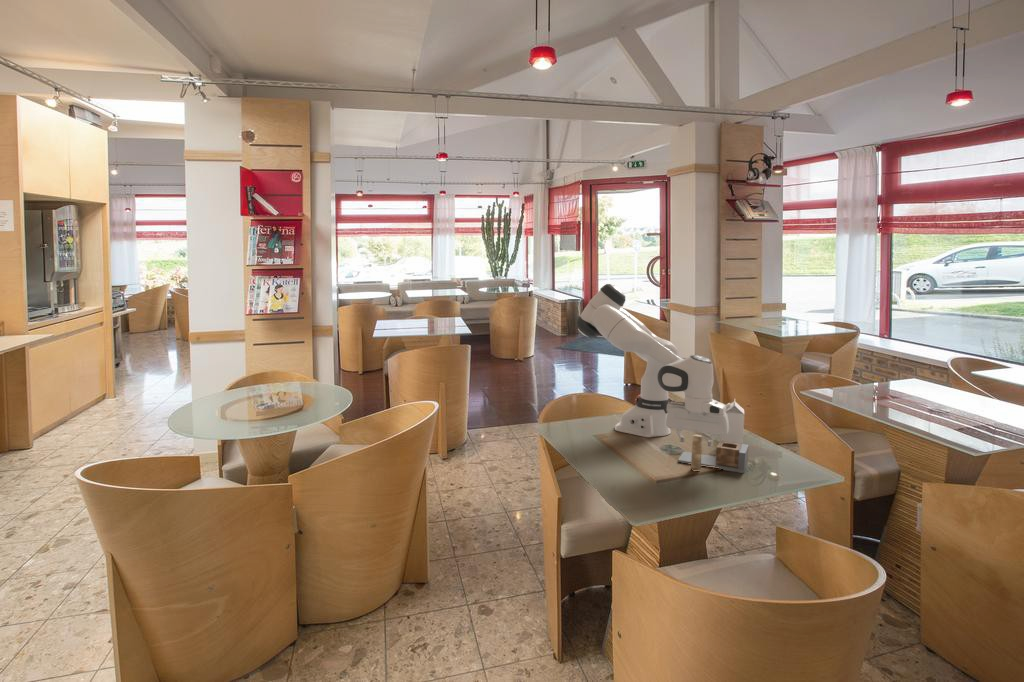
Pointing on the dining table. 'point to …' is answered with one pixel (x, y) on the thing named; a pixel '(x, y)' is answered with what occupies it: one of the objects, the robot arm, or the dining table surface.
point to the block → (728, 453)
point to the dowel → (696, 452)
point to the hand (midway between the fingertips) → (695, 443)
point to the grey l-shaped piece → (711, 461)
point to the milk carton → (734, 423)
